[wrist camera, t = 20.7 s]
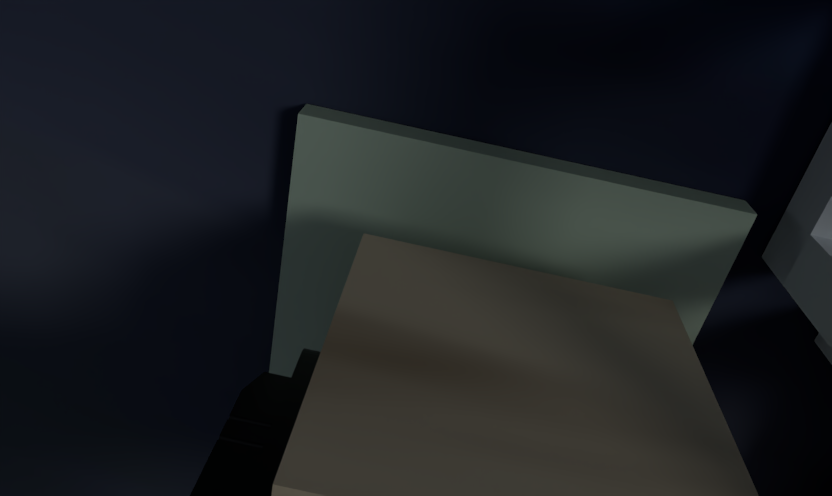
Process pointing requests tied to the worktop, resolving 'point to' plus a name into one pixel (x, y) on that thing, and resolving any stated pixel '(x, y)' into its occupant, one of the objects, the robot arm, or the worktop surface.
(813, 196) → the gray angular frame
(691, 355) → the beech block
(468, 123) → the worktop surface
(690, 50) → the worktop surface
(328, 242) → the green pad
